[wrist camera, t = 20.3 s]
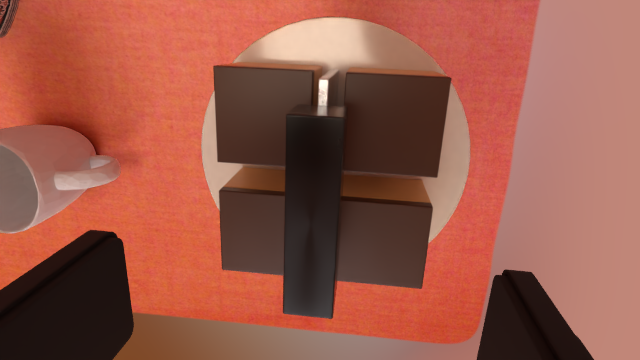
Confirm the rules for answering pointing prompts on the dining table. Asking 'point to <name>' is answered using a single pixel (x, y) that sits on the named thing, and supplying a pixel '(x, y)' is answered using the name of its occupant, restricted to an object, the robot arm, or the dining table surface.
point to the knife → (314, 201)
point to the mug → (46, 173)
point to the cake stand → (342, 53)
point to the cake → (360, 156)
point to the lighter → (7, 15)
